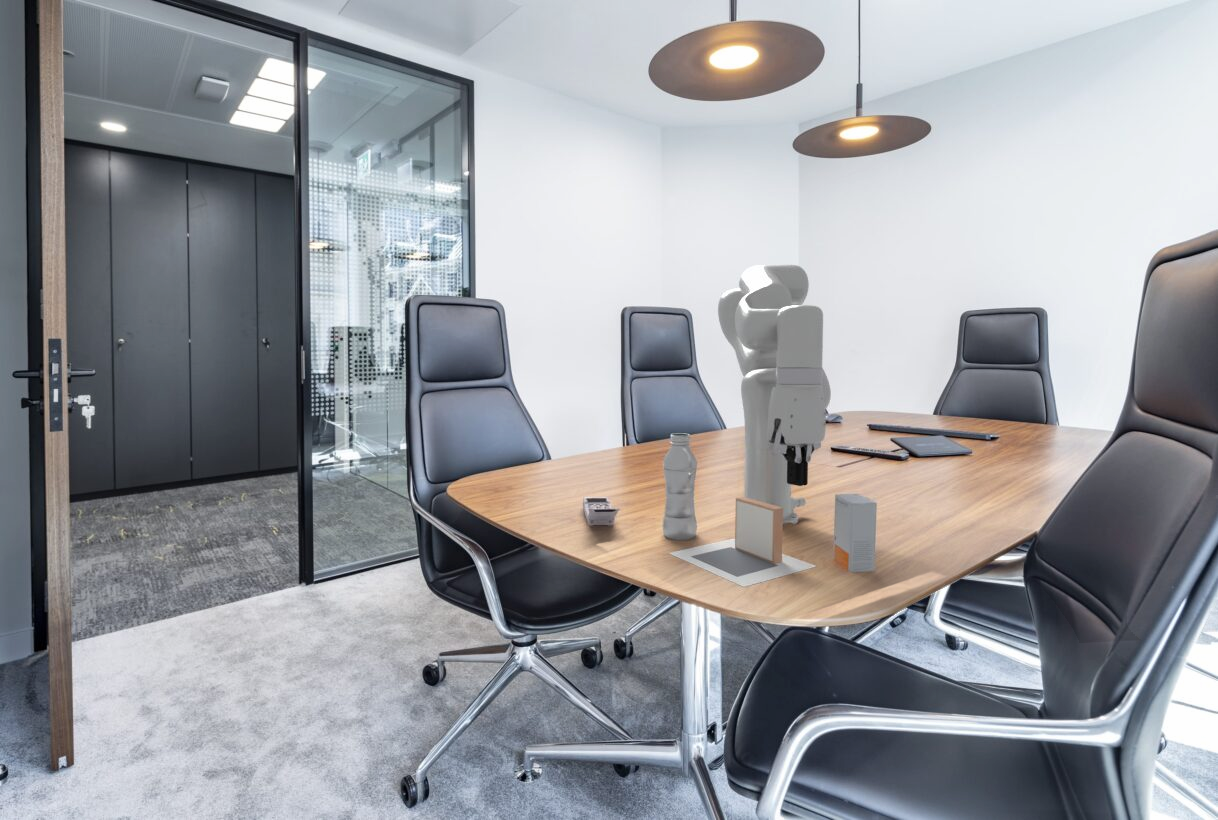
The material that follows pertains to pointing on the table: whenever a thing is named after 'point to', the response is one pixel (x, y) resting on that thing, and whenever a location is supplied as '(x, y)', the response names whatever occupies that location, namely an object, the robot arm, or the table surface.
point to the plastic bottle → (679, 489)
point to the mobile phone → (599, 511)
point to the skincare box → (854, 532)
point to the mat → (739, 563)
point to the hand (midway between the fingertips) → (797, 484)
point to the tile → (759, 529)
